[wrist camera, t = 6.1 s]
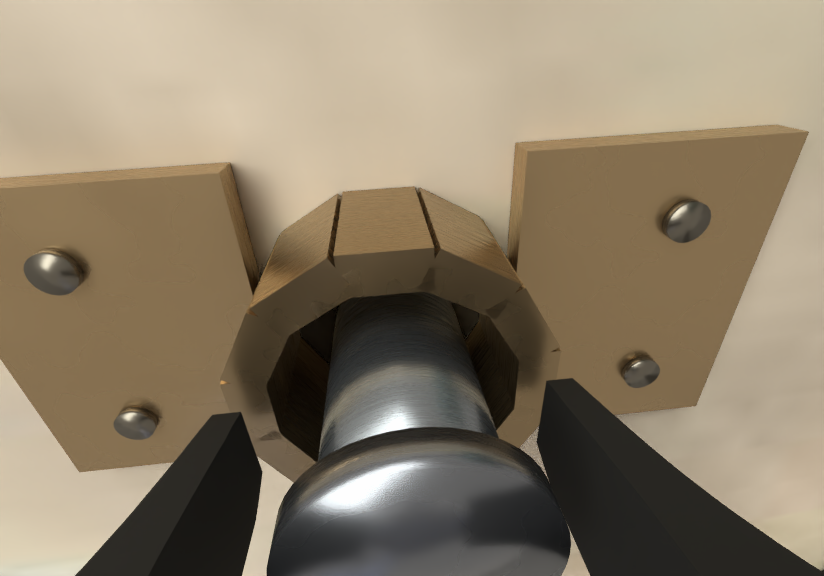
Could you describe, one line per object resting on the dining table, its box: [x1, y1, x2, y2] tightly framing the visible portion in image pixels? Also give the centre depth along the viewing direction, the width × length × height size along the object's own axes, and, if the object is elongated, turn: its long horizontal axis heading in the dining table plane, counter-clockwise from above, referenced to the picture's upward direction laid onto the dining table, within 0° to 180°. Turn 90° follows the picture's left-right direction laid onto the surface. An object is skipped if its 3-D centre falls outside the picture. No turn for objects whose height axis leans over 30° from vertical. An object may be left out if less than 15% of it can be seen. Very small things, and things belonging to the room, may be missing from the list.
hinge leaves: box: [0, 125, 809, 482], centre depth 12 cm, size 10×23×4 cm, turn 93°
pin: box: [267, 291, 571, 576], centre depth 11 cm, size 5×5×8 cm
